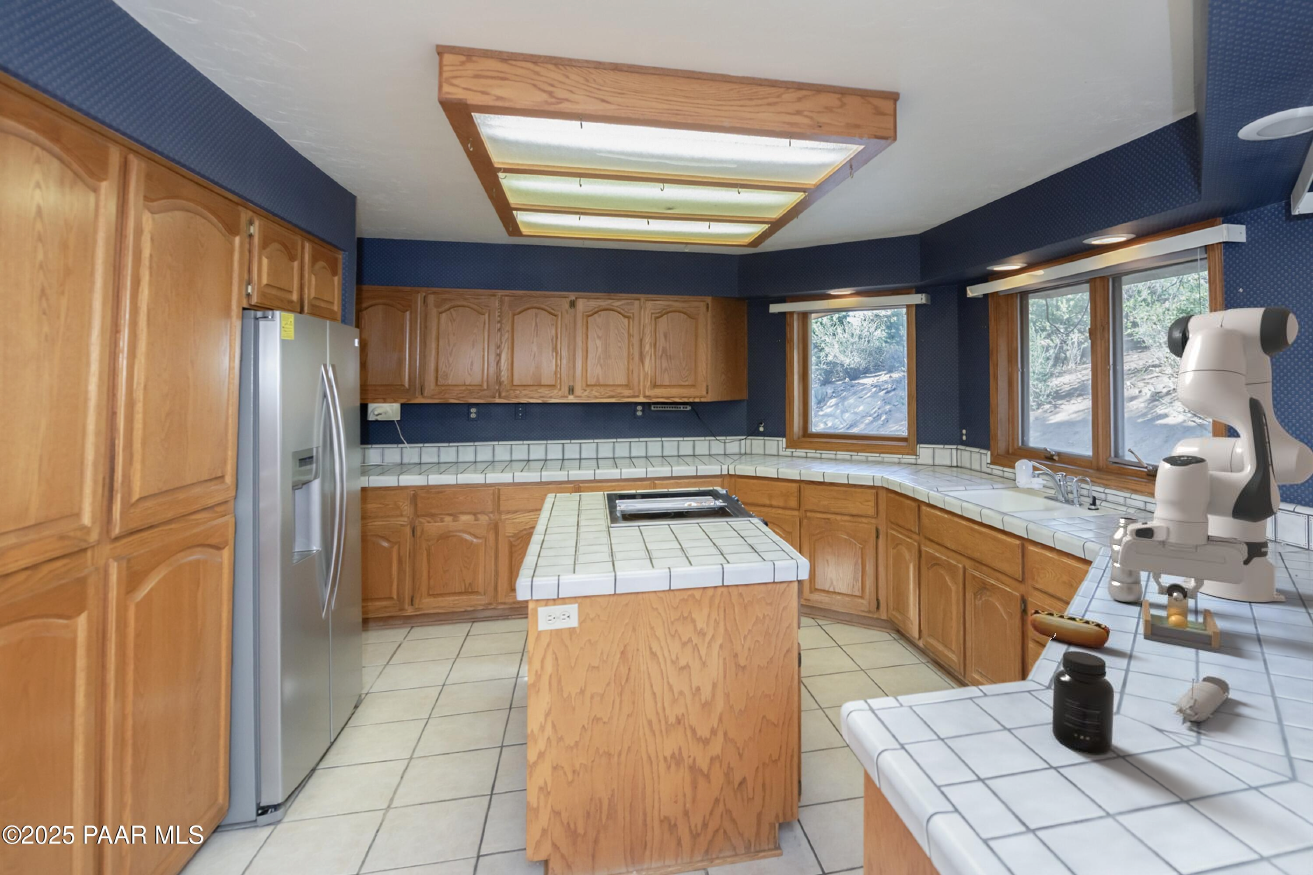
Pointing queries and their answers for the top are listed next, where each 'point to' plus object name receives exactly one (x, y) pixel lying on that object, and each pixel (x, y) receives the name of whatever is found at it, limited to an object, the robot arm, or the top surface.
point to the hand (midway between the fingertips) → (1176, 596)
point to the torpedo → (1202, 699)
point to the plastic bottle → (1123, 581)
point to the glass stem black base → (1177, 601)
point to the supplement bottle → (1083, 704)
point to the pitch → (1181, 630)
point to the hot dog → (1069, 628)
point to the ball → (1178, 622)
